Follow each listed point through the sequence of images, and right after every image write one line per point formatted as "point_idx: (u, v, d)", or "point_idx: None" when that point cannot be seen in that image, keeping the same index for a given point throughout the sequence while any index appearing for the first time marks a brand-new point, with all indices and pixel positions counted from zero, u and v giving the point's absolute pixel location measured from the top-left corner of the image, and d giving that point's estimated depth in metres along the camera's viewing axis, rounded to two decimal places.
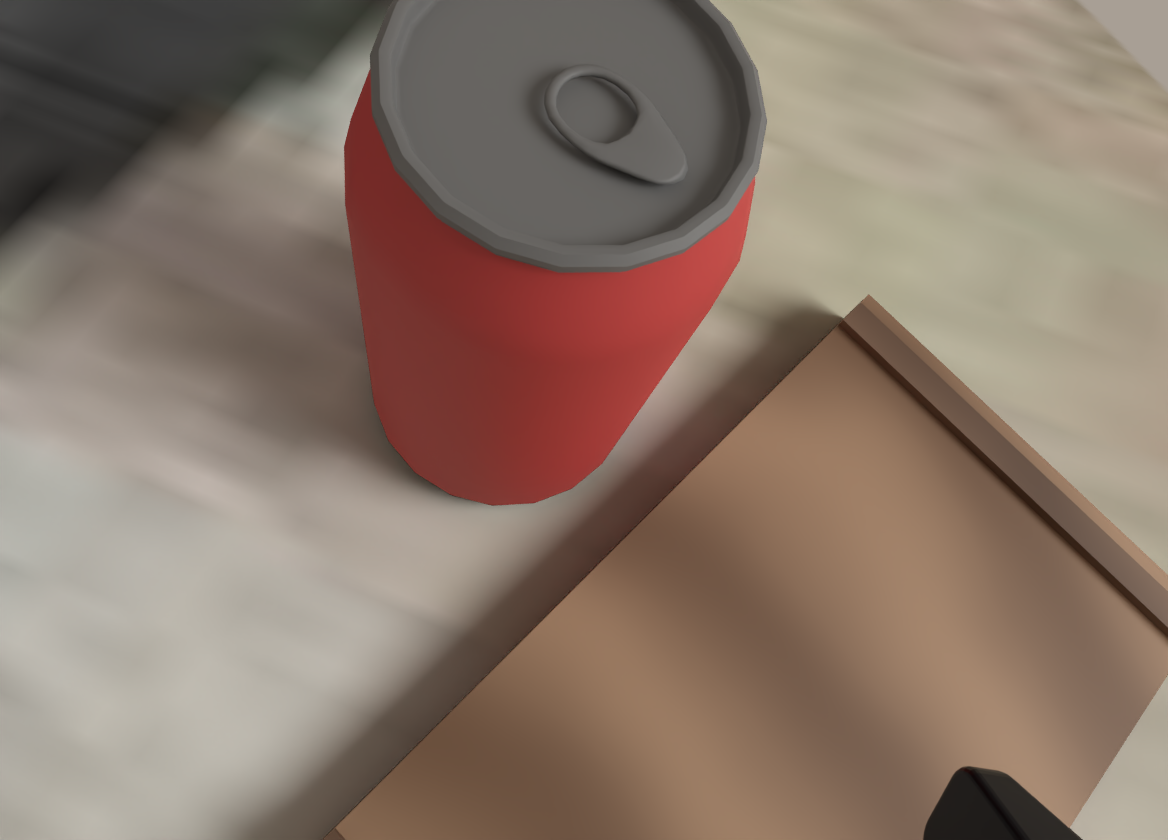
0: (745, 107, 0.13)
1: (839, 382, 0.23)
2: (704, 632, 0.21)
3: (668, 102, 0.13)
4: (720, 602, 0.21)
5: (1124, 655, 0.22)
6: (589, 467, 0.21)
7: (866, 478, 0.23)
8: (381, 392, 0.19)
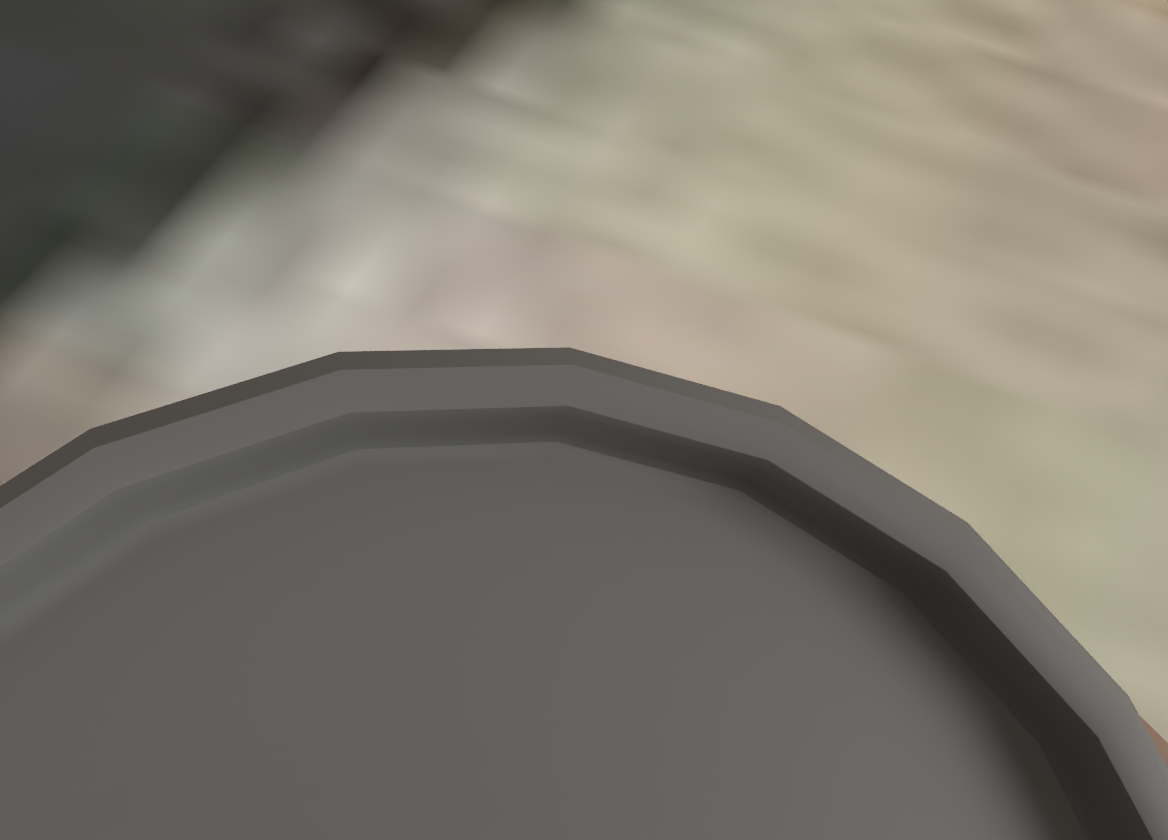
0: None
1: None
2: None
3: None
4: None
5: None
6: None
7: None
8: None
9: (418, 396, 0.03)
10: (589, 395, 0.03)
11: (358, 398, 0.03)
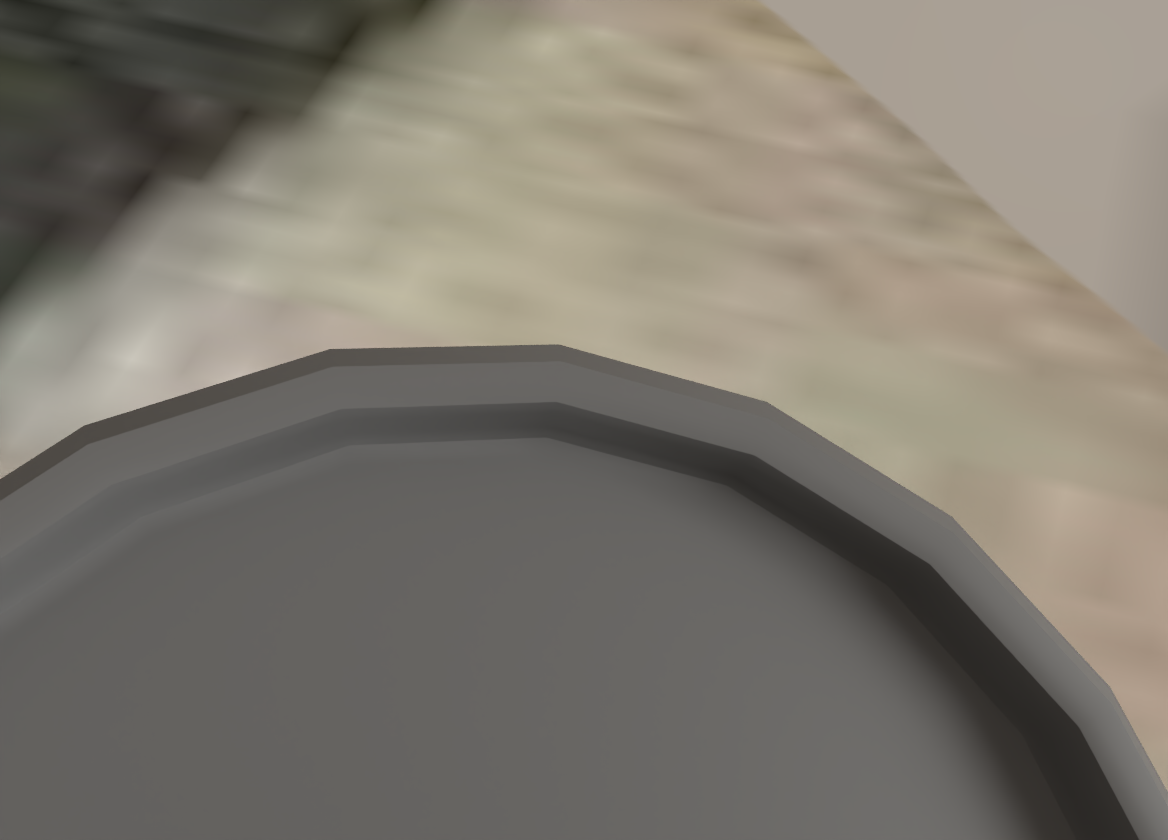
0: None
1: None
2: None
3: None
4: None
5: None
6: None
7: None
8: None
9: (409, 393, 0.03)
10: (578, 393, 0.03)
11: (349, 395, 0.03)
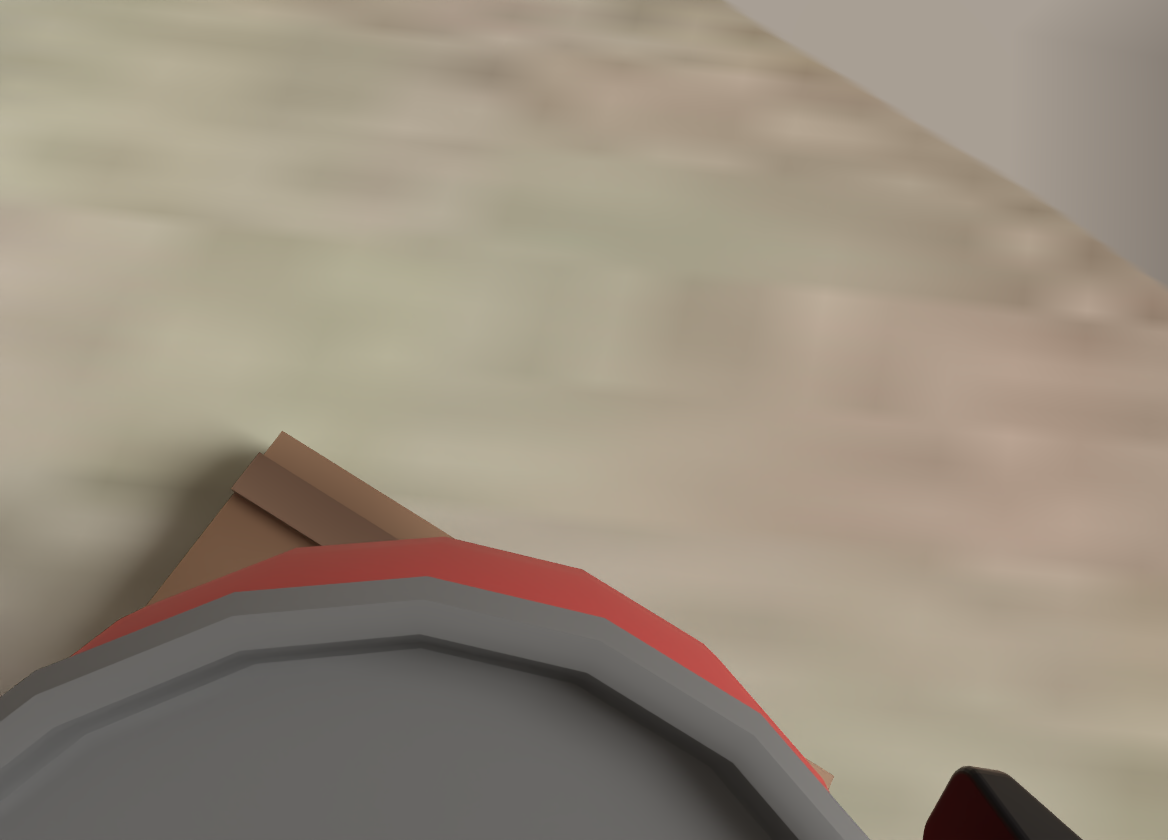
0: None
1: None
2: None
3: None
4: None
5: None
6: None
7: None
8: None
9: (295, 635, 0.04)
10: (437, 625, 0.04)
11: (247, 638, 0.04)
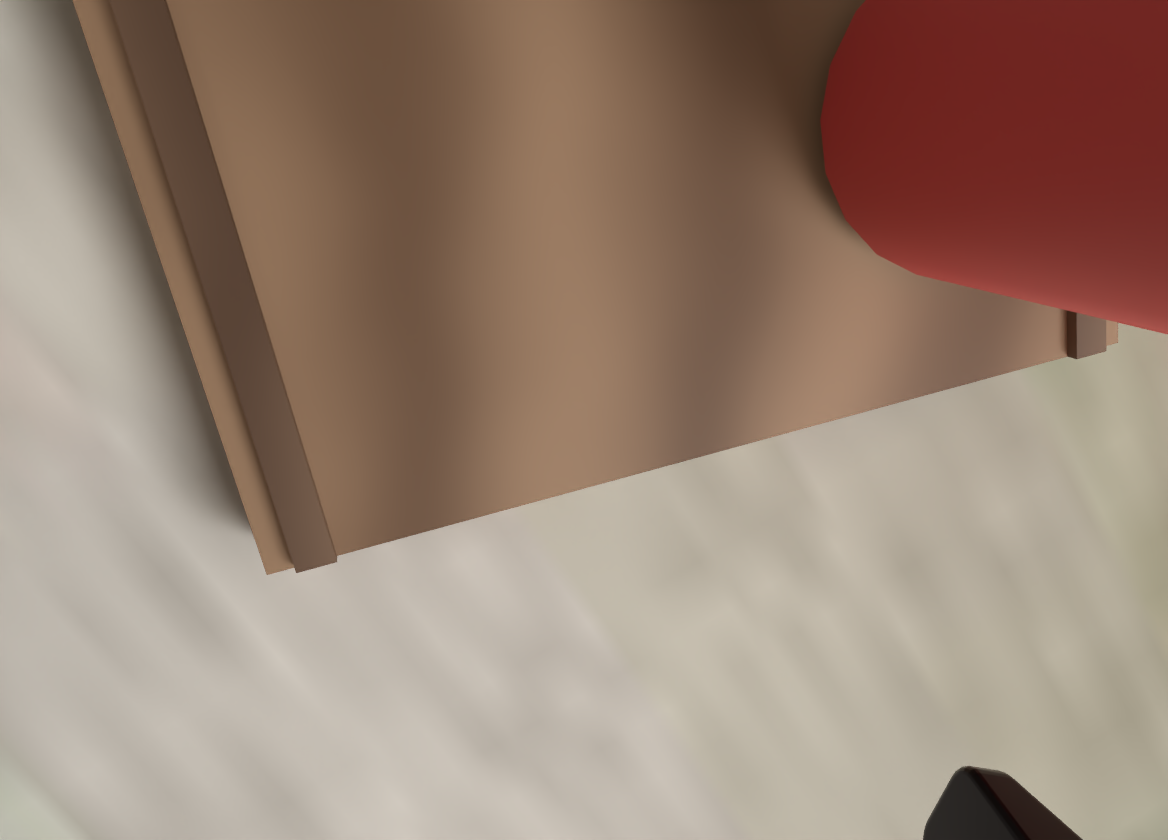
0: None
1: None
2: None
3: None
4: None
5: (1018, 323, 0.20)
6: None
7: None
8: (923, 37, 0.14)
9: None
10: None
11: None
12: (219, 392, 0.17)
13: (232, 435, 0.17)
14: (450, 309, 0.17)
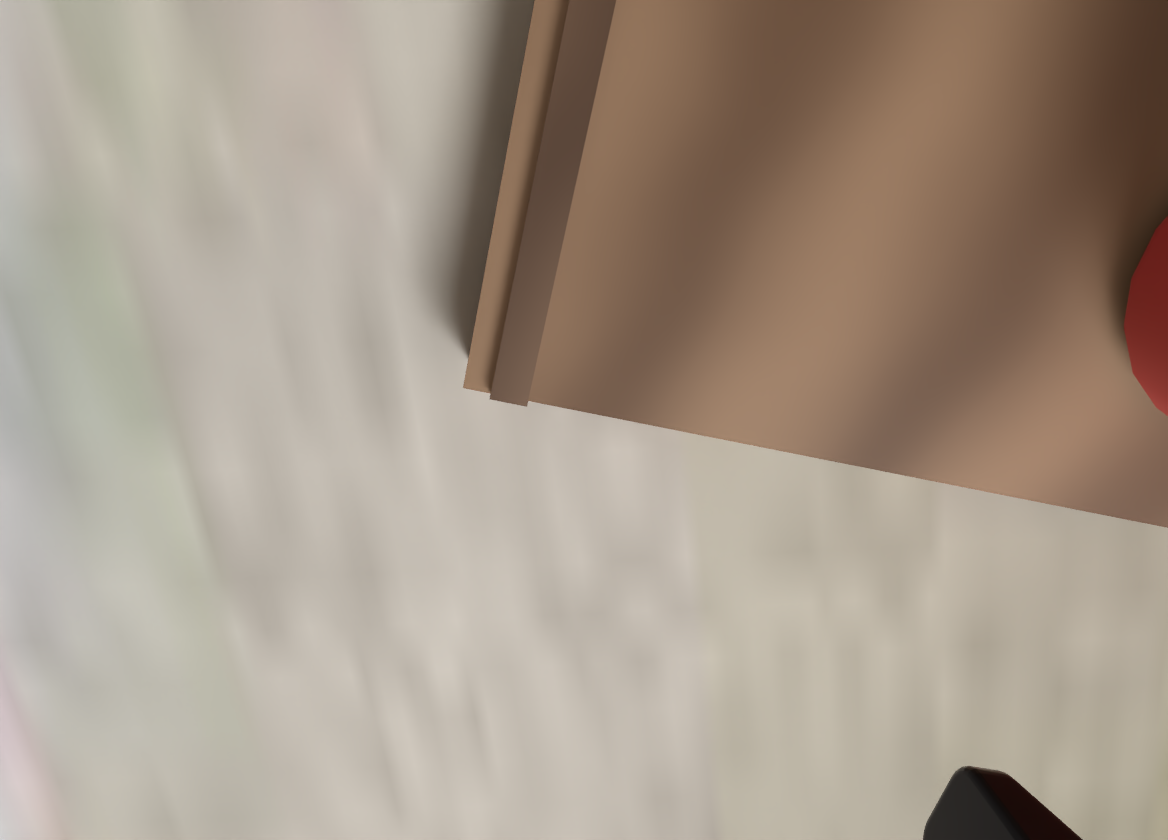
0: None
1: None
2: (1079, 45, 0.16)
3: None
4: (1123, 45, 0.16)
5: None
6: None
7: None
8: None
9: None
10: None
11: None
12: (507, 216, 0.17)
13: (498, 258, 0.18)
14: (735, 239, 0.18)
